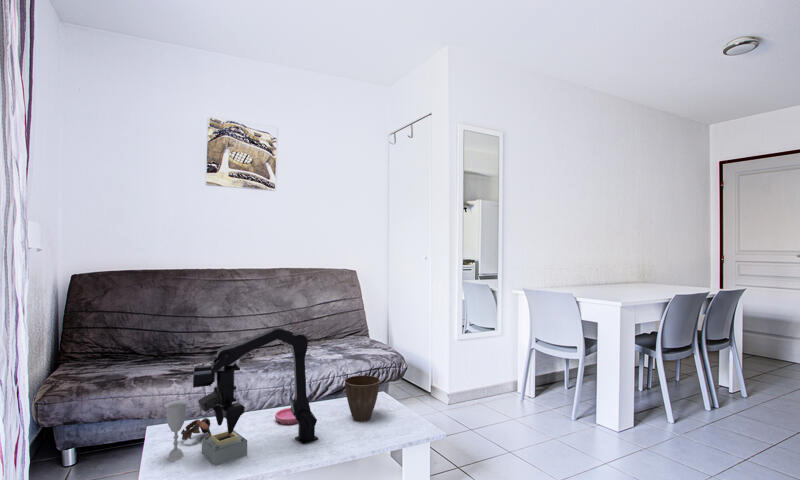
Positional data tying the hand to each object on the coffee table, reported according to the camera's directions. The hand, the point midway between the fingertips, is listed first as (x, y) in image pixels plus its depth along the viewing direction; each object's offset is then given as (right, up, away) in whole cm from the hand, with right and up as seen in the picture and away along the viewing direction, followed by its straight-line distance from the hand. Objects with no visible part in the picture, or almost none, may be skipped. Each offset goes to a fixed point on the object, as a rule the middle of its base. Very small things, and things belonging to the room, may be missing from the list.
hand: (224, 429), depth 148 cm
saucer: (+15, -10, +30) cm, 35 cm away
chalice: (-16, -9, -3) cm, 18 cm away
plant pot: (+45, -10, +32) cm, 56 cm away
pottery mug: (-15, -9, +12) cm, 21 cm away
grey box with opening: (0, -9, 0) cm, 8 cm away
